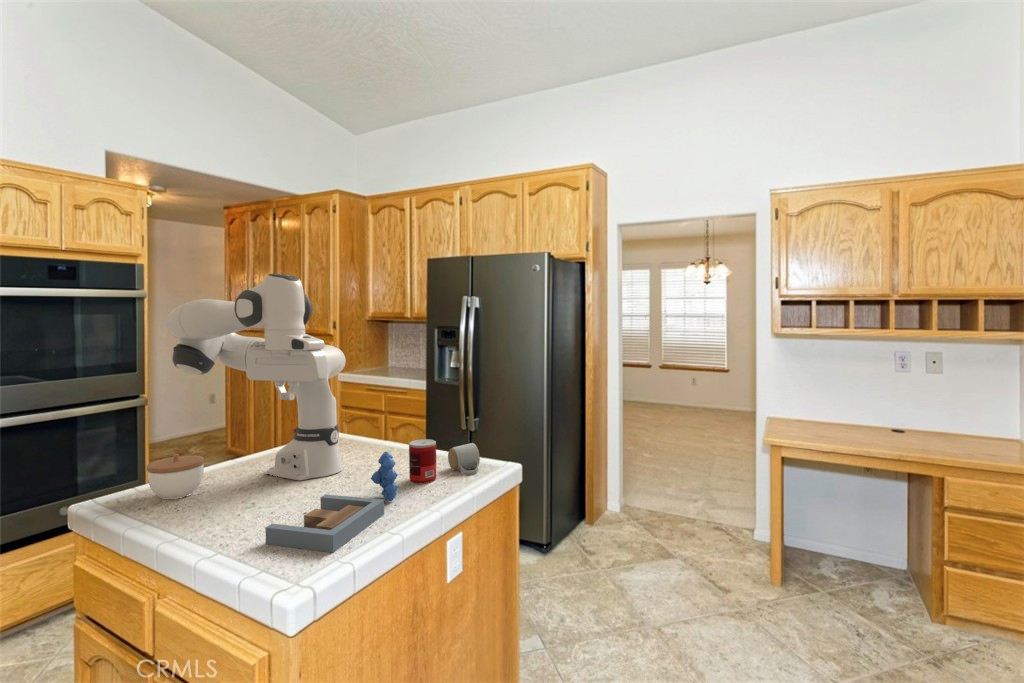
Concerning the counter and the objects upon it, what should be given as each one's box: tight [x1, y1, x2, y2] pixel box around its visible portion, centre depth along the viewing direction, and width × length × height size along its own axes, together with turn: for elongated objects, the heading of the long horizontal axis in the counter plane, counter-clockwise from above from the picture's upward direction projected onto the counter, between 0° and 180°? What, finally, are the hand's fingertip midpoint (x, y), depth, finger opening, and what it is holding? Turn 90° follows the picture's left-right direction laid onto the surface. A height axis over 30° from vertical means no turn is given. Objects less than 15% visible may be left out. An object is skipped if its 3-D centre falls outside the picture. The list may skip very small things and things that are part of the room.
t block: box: [303, 505, 364, 530], centre depth 108 cm, size 10×12×3 cm
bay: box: [264, 494, 385, 554], centre depth 108 cm, size 16×20×4 cm
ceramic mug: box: [447, 442, 481, 476], centre depth 150 cm, size 11×8×8 cm
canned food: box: [408, 438, 437, 485], centre depth 141 cm, size 8×8×11 cm
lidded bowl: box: [146, 453, 205, 500], centre depth 130 cm, size 13×13×11 cm
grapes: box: [370, 451, 399, 502], centre depth 126 cm, size 12×7×12 cm, turn 27°
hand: (287, 399), depth 116 cm, fingers closed
